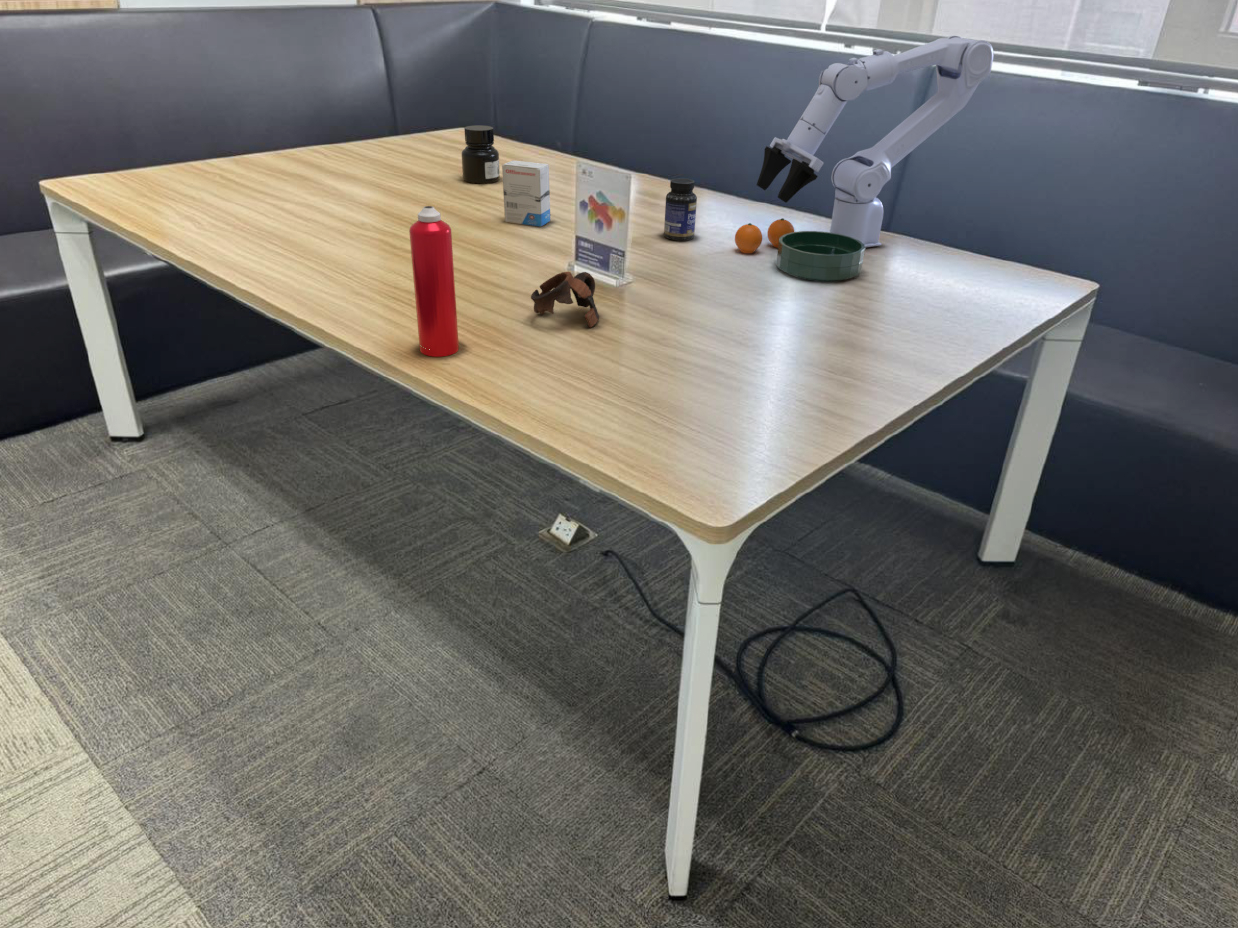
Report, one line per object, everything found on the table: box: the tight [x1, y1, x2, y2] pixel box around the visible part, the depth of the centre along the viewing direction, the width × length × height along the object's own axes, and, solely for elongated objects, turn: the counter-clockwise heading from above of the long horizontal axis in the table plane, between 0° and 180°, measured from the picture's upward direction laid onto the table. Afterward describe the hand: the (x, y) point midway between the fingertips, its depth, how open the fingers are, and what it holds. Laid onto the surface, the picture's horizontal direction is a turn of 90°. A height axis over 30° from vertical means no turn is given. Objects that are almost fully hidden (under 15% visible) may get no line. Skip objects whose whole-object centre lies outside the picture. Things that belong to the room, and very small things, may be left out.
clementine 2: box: [766, 218, 795, 249], centre depth 175 cm, size 5×5×6 cm
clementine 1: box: [734, 222, 763, 254], centre depth 171 cm, size 5×5×6 cm
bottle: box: [408, 205, 460, 358], centre depth 122 cm, size 5×5×20 cm
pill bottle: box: [663, 177, 698, 242], centre depth 177 cm, size 6×6×11 cm
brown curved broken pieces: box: [530, 271, 600, 328], centre depth 138 cm, size 12×10×8 cm
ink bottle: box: [461, 124, 501, 184], centre depth 214 cm, size 10×9×12 cm
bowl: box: [775, 230, 866, 282], centre depth 163 cm, size 15×15×5 cm
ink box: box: [501, 160, 551, 228], centre depth 183 cm, size 9×5×12 cm, turn 68°
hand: (771, 194), depth 169 cm, fingers open, 7 cm apart
